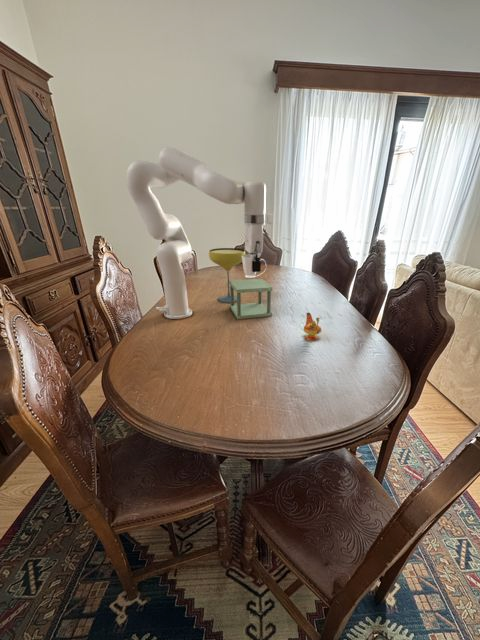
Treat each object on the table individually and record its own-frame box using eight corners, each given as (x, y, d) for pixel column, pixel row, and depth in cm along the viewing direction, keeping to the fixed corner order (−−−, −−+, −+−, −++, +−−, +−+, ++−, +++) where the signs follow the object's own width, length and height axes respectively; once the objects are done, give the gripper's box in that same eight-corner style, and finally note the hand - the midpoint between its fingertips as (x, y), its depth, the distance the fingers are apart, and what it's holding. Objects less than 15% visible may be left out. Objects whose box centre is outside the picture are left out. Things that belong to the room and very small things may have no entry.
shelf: (237, 319, 128) (236, 289, 122) (230, 307, 142) (229, 280, 135) (271, 316, 132) (272, 287, 126) (261, 305, 146) (261, 278, 140)
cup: (240, 274, 117) (240, 254, 113) (264, 274, 119) (265, 254, 115) (242, 279, 111) (242, 257, 107) (267, 279, 113) (268, 258, 109)
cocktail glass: (252, 298, 156) (252, 250, 144) (232, 307, 142) (230, 255, 130) (226, 292, 164) (224, 246, 152) (204, 300, 150) (200, 251, 139)
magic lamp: (314, 327, 122) (317, 302, 117) (324, 346, 106) (328, 318, 101) (298, 327, 121) (300, 302, 116) (306, 346, 105) (309, 318, 100)
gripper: (239, 218, 111) (240, 265, 120) (250, 222, 97) (250, 275, 105) (258, 218, 113) (257, 264, 122) (271, 222, 99) (269, 274, 107)
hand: (253, 269), depth 113 cm, fingers closed on cup, 6 cm apart
